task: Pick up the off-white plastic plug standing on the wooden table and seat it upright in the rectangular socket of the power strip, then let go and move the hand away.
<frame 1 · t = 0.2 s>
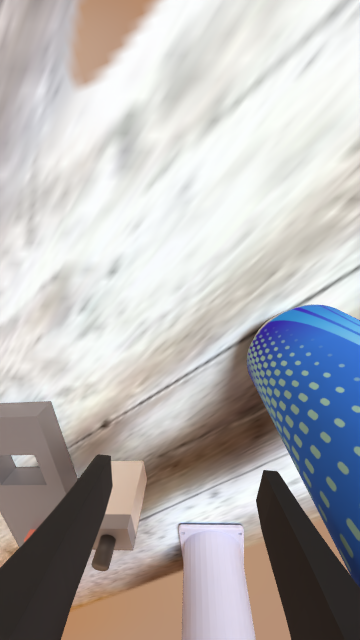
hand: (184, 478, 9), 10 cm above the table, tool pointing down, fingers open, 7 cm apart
beer can: (290, 345, 17), on the table, touching gripper
power strip: (41, 477, 25), on the table
plug: (128, 470, 24), on the table
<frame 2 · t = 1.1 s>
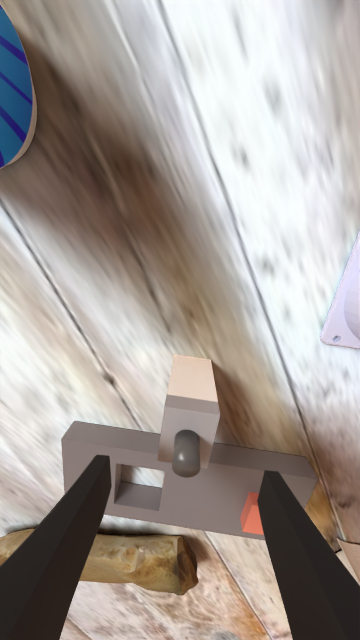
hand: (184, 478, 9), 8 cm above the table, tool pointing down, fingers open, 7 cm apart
stone tool: (98, 538, 26), on the table
power strip: (182, 472, 21), on the table
paper towel roll: (354, 555, 23), on the table
plug: (188, 377, 17), on the table
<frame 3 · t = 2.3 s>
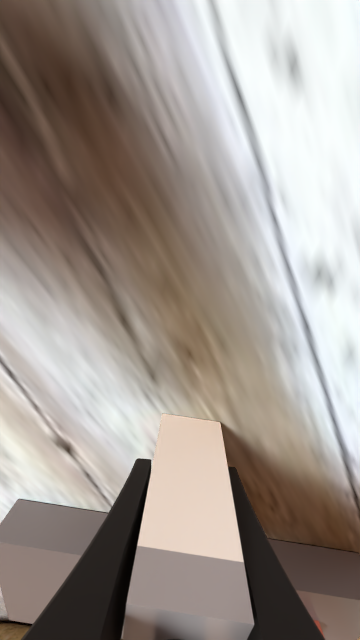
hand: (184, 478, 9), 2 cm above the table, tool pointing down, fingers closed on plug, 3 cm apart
stone tool: (69, 631, 20), on the table
power strip: (177, 566, 14), on the table
plug: (185, 446, 11), on the table, touching gripper
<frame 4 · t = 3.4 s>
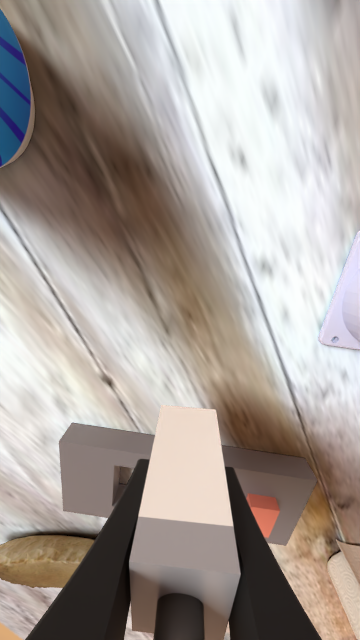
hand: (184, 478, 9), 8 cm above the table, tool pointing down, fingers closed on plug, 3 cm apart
stone tool: (98, 545, 26), on the table
power strip: (181, 474, 20), on the table
paper towel roll: (353, 556, 23), on the table
plug: (186, 435, 12), point 6 cm above the table, touching gripper
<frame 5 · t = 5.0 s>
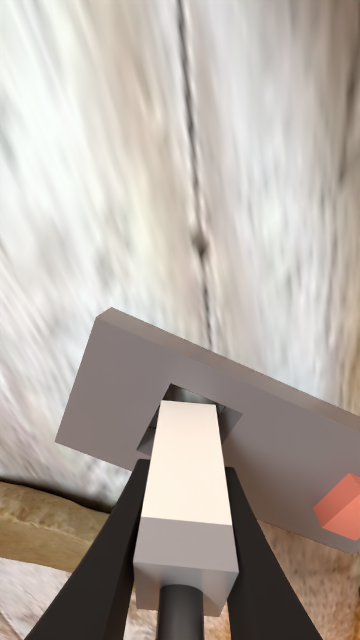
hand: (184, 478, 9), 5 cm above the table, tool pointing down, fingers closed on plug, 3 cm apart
stone tool: (74, 511, 19), on the table
power strip: (239, 430, 14), on the table
plug: (185, 427, 12), point 2 cm above the table, tilted 6°, touching gripper, power strip
when the fingers open (3 cm above the table, at t = 5.6 s): plug drops 1 cm, resting in power strip.
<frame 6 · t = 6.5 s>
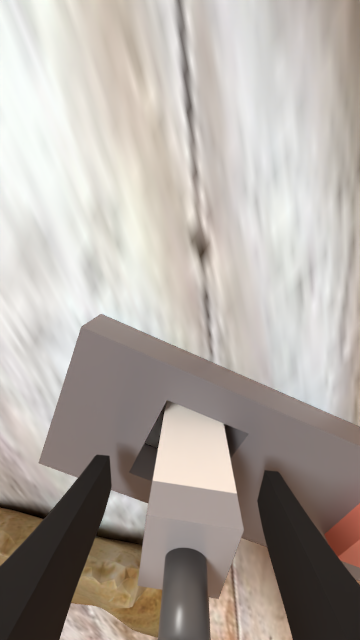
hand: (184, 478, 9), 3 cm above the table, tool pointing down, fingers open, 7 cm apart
stone tool: (65, 534, 18), on the table
power strip: (243, 447, 13), on the table
plug: (188, 421, 13), resting in power strip
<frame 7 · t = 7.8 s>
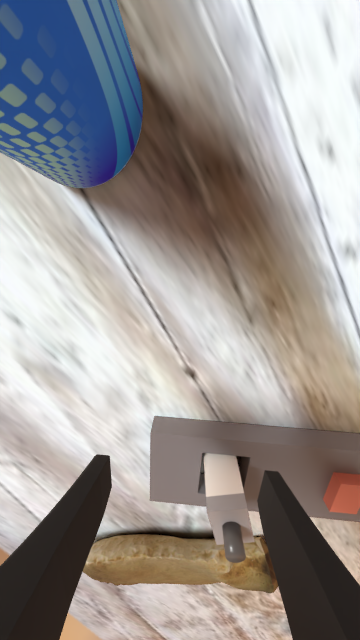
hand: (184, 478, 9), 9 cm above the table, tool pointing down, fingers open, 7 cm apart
stone tool: (177, 542, 27), on the table
beer can: (85, 122, 13), on the table
power strip: (258, 459, 21), on the table
plug: (220, 454, 21), resting in power strip
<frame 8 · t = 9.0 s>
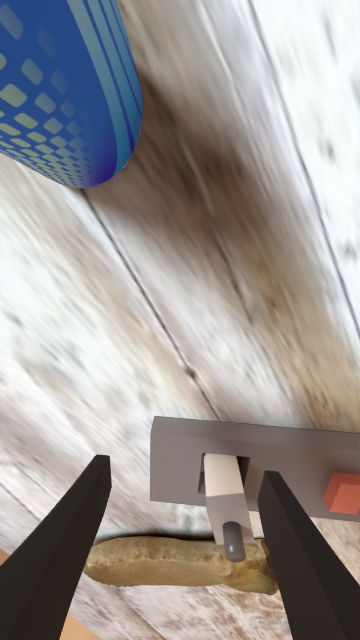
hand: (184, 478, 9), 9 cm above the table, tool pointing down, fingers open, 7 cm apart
stone tool: (178, 544, 27), on the table
beer can: (85, 122, 13), on the table
power strip: (258, 459, 21), on the table
plug: (220, 454, 21), resting in power strip
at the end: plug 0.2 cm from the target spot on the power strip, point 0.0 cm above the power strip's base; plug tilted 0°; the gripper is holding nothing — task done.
